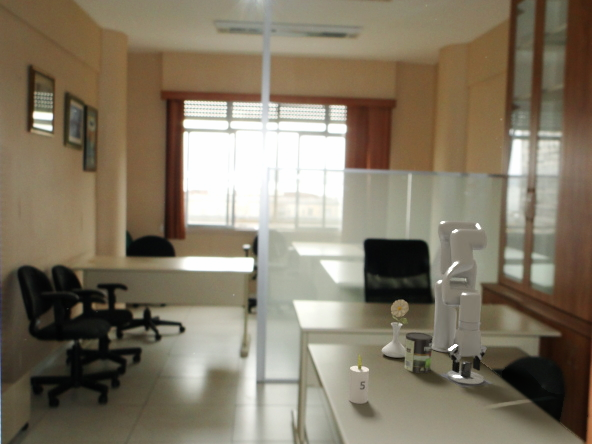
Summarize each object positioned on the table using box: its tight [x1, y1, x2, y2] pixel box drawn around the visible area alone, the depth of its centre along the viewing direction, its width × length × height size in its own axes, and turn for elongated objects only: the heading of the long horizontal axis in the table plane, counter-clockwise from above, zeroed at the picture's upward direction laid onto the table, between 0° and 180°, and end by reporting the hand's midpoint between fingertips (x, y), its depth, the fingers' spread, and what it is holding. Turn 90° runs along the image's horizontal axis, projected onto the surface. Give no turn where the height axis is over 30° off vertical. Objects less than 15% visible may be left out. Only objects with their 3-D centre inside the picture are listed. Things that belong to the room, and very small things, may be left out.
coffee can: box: [403, 331, 433, 374], centre depth 207 cm, size 10×10×14 cm
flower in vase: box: [381, 299, 410, 359], centre depth 224 cm, size 13×11×25 cm
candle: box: [348, 354, 370, 404], centre depth 175 cm, size 6×6×15 cm
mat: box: [438, 372, 494, 389], centre depth 197 cm, size 14×14×1 cm
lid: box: [447, 360, 485, 386], centre depth 197 cm, size 13×13×6 cm
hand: (466, 370), depth 197 cm, fingers open, 9 cm apart
